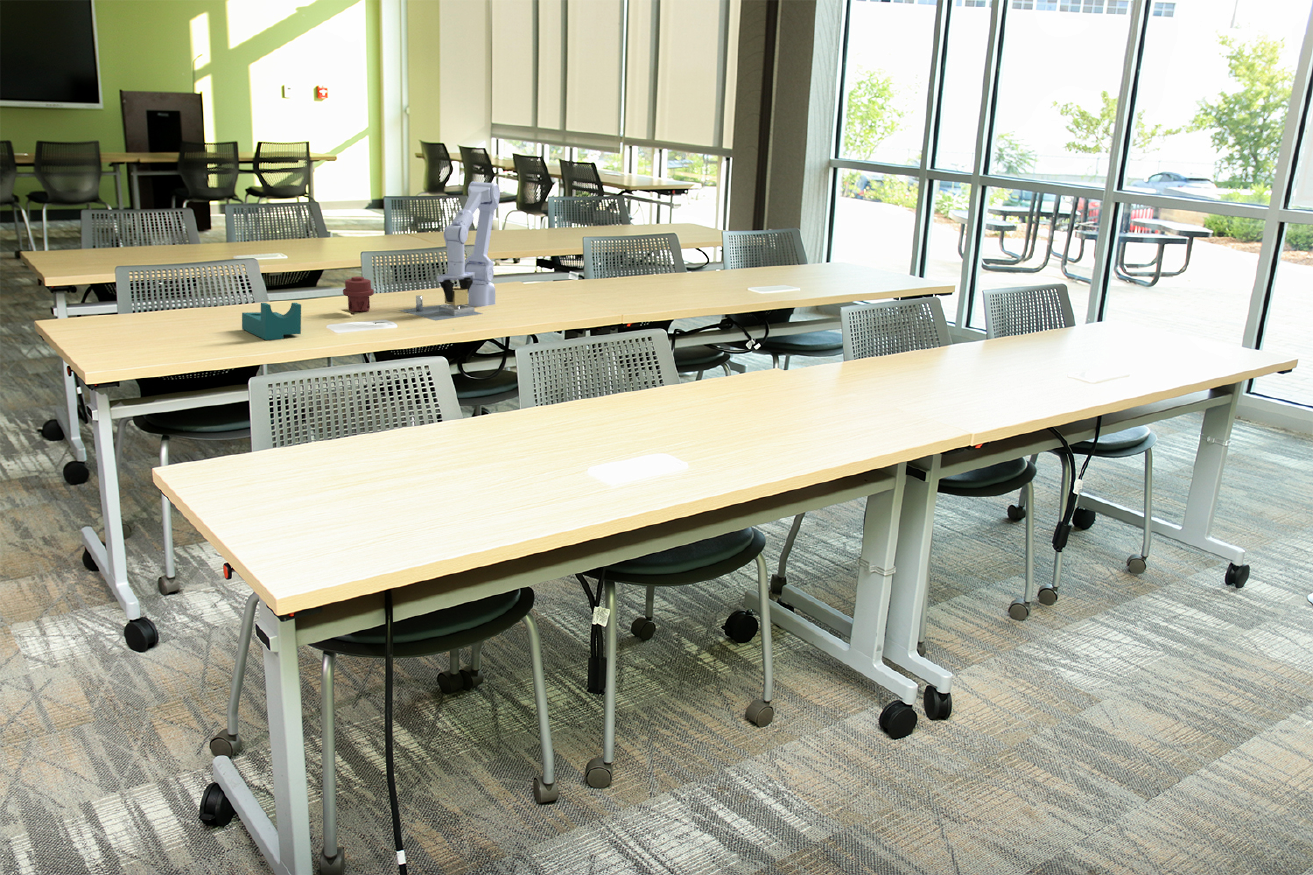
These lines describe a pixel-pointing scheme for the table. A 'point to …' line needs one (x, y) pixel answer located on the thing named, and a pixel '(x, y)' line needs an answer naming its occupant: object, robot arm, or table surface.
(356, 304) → the mechanical component
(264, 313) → the teal l-shaped bracket
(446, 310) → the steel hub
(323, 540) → the table surface
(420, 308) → the steel rod
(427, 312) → the board
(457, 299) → the brass collar
